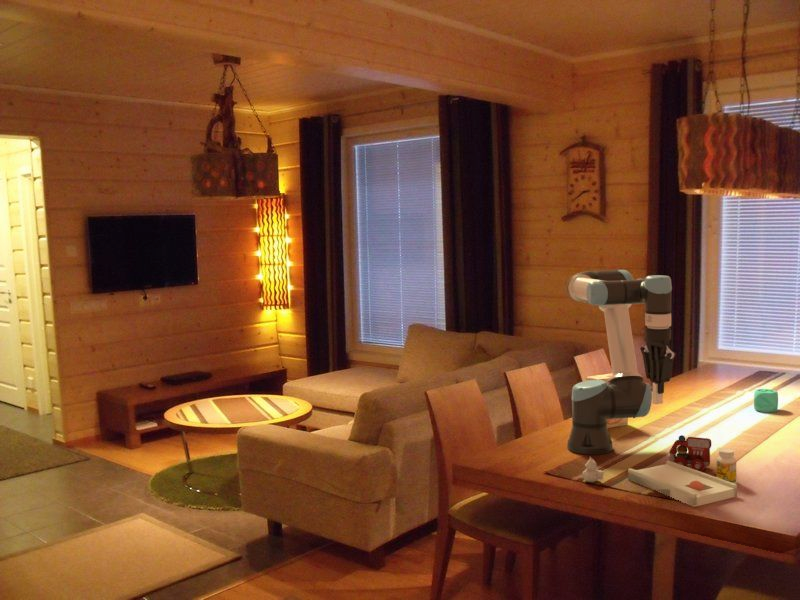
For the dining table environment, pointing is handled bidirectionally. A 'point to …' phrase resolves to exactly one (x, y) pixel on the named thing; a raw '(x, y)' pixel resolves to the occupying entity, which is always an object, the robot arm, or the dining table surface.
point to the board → (683, 483)
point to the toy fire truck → (691, 452)
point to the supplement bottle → (726, 465)
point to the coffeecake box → (611, 421)
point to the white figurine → (592, 472)
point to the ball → (696, 485)
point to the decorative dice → (766, 400)
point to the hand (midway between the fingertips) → (657, 403)
